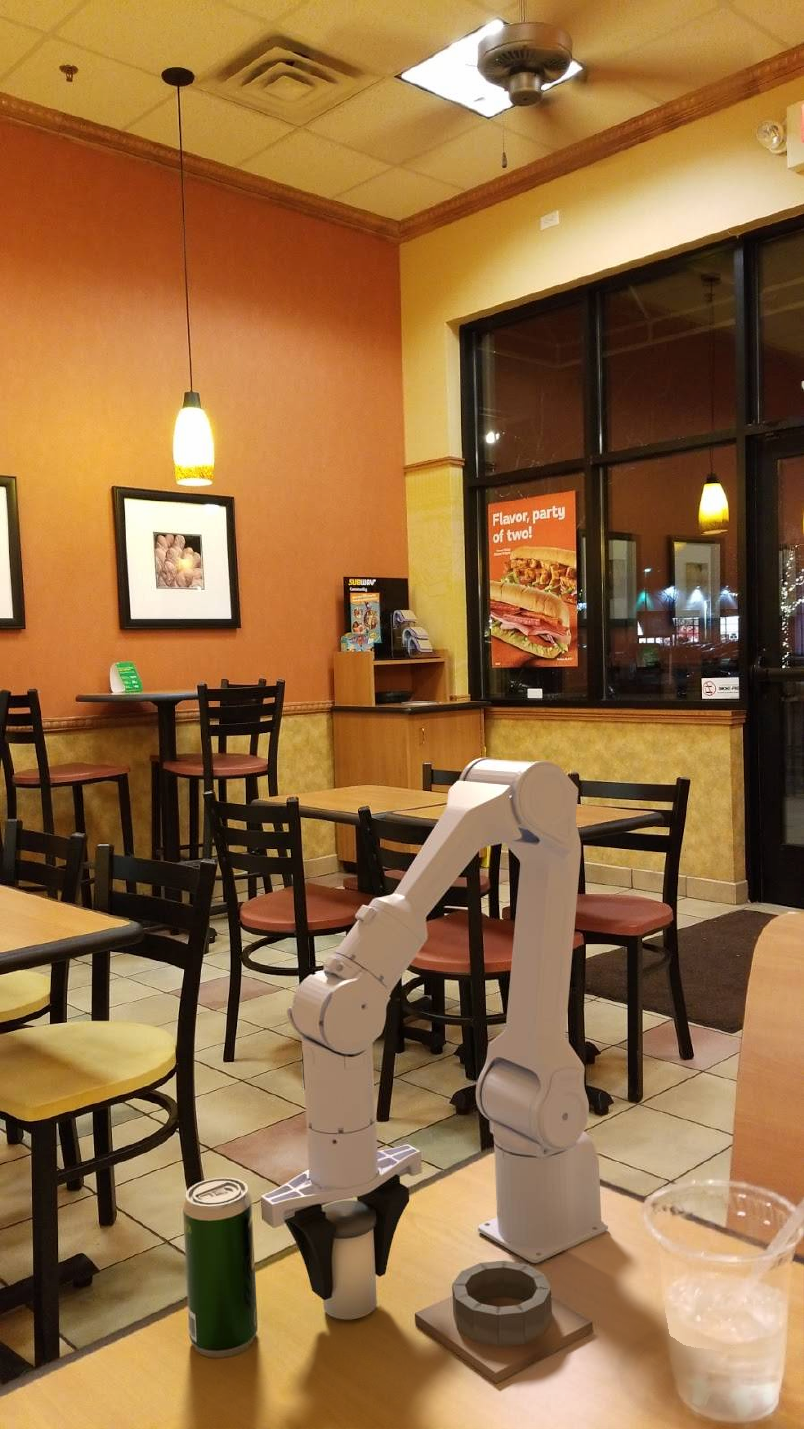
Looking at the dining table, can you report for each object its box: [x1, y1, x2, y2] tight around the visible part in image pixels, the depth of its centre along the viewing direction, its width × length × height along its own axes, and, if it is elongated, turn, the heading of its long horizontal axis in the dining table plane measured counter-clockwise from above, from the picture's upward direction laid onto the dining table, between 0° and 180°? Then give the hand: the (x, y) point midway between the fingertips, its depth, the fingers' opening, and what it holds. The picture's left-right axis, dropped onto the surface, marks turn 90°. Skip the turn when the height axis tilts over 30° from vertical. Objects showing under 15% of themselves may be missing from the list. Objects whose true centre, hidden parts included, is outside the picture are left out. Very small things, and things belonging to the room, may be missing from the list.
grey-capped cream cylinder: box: [322, 1200, 378, 1320], centre depth 92 cm, size 5×5×8 cm
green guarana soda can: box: [182, 1177, 259, 1359], centre depth 88 cm, size 5×5×12 cm
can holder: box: [414, 1260, 594, 1384], centre depth 88 cm, size 10×10×3 cm
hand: (349, 1281), depth 92 cm, fingers closed on grey-capped cream cylinder, 5 cm apart
